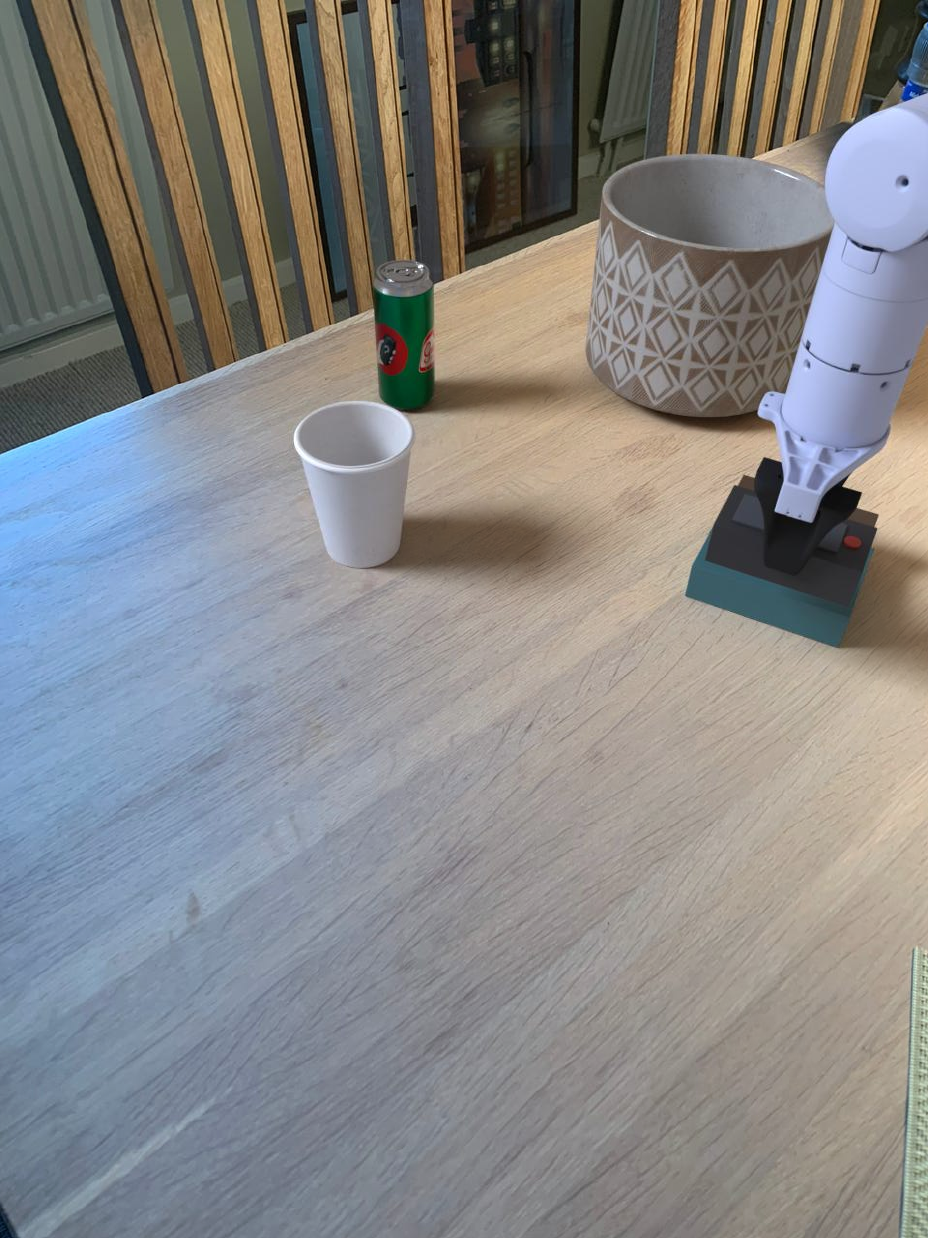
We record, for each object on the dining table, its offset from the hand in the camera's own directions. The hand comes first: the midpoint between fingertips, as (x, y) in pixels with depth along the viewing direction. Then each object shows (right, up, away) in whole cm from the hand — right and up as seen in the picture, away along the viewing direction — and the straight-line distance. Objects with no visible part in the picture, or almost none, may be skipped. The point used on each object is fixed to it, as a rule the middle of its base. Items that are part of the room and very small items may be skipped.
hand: (791, 542), depth 61 cm
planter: (+1, +18, +32) cm, 36 cm away
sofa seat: (+2, -2, +11) cm, 12 cm away
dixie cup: (-28, +1, +14) cm, 31 cm away
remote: (0, -1, +1) cm, 2 cm away
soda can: (-25, +15, +28) cm, 41 cm away
